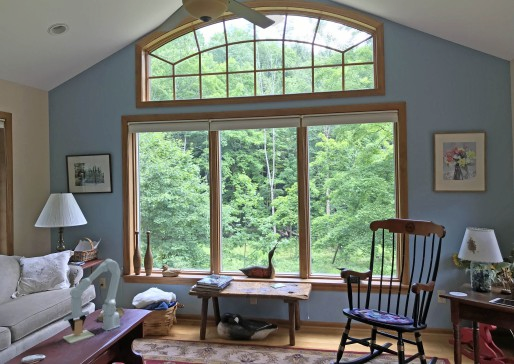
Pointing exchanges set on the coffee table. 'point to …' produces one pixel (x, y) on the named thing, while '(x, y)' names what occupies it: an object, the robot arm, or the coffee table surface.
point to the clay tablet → (119, 310)
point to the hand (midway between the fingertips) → (77, 329)
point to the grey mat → (78, 336)
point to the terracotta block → (78, 327)
